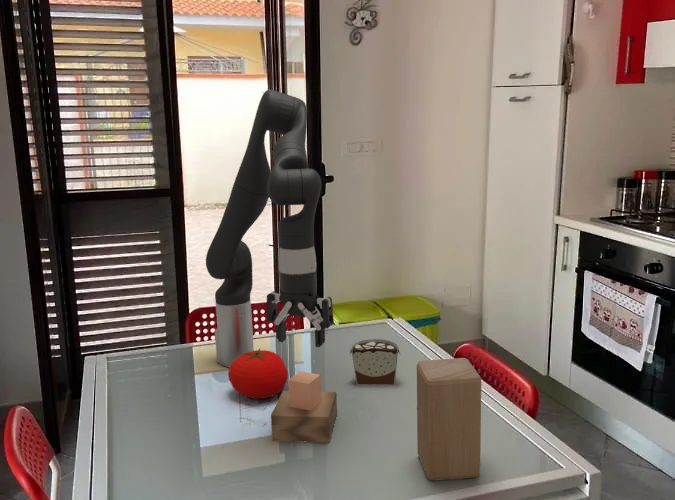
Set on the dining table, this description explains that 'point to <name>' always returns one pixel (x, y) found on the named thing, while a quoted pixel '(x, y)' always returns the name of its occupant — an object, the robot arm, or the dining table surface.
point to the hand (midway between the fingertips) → (300, 343)
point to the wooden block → (448, 418)
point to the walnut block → (304, 420)
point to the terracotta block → (304, 390)
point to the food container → (375, 362)
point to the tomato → (258, 374)
